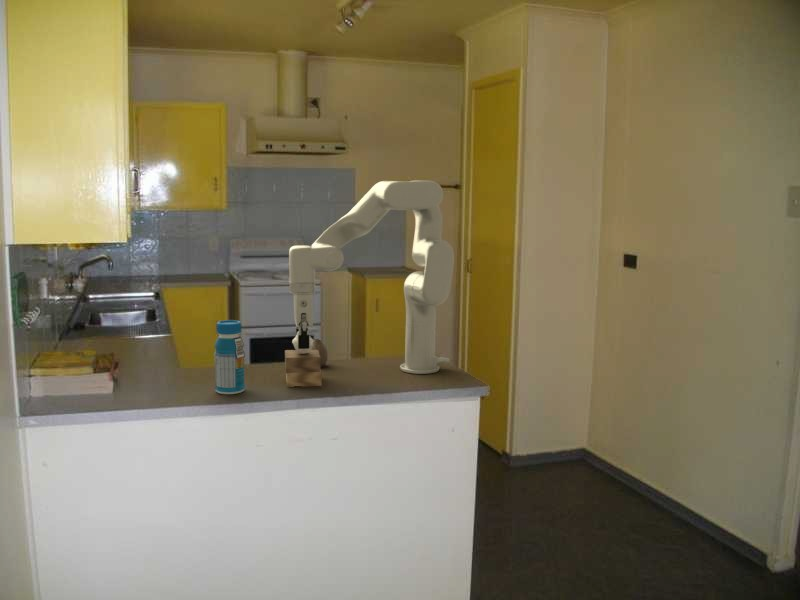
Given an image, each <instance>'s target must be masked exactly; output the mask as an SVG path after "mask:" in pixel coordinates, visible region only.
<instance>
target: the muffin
mask: <svg viewBox="0 0 800 600" xmlns="http://www.w3.org/2000/svg"><path fill="white" fill-rule="evenodd" d="M298 335H299V331H298V332H297V335H296V334H295V337H294V338H293V339H292V341H291V343H292V345H293V347H294V350H296V351H297V353H299V354H307V353H309V351H310V349H311V347H312V343H313V340H314V339H313V338H312V336H310V334H309V349H299V348H298Z"/></svg>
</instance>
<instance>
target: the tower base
mask: <svg viewBox="0 0 800 600" xmlns="http://www.w3.org/2000/svg"><path fill="white" fill-rule="evenodd" d="M322 375H323V374H322V368H320V372H305V373H286V372H285V380H286V387H287V388H295V387H294V386H302V387H322V385H323V384H322V382H323V381H322V380H323V379H322Z"/></svg>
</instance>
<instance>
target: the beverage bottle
mask: <svg viewBox="0 0 800 600" xmlns="http://www.w3.org/2000/svg"><path fill="white" fill-rule="evenodd" d="M216 333H217V335H219V336H217V338H216V340H215V342H214V350H215V352H214V353H213V358H214V370H215V371H214V373H215V374H214V376H215V377H214V379H215V392H217V393H218V394H221V395H236V394H237V395H238V394H241V393H242V392H244V391H245V389H246V385H245V357H246V353H245V351H244V347H245V342H244V341H243V338H242V337H241V335H240V334H241V333H242V322H241V321H240V320H236V319H235V320H234V319H225V320H219V321H217V322H216Z"/></svg>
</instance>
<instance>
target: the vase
mask: <svg viewBox="0 0 800 600" xmlns="http://www.w3.org/2000/svg"><path fill="white" fill-rule="evenodd" d="M310 350H318V351H319V354H320V368H323V367H324V366H325V365H326V364H327V362H328V359H329V353H328V349H327V347H326V345H325V344H324V343H323V341H322V339H320V338H314V339H313V343H312V347H311V349H310Z"/></svg>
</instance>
